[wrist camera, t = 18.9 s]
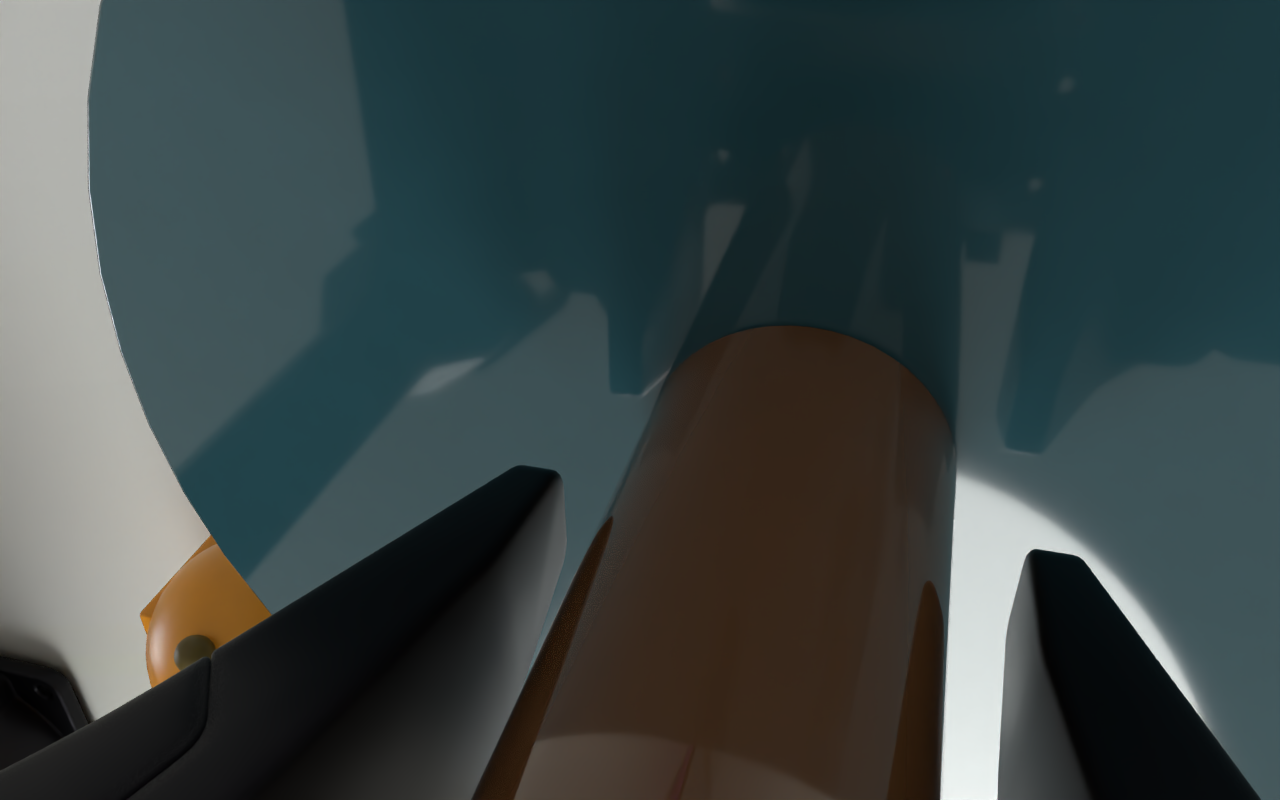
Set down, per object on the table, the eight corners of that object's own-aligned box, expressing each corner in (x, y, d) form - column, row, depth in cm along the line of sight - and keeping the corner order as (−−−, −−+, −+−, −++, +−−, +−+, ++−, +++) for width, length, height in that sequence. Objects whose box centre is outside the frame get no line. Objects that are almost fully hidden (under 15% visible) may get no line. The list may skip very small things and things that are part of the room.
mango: (450, 765, 26) (362, 942, 23) (290, 727, 27) (181, 892, 24) (406, 499, 22) (285, 668, 18) (214, 465, 23) (62, 619, 19)
